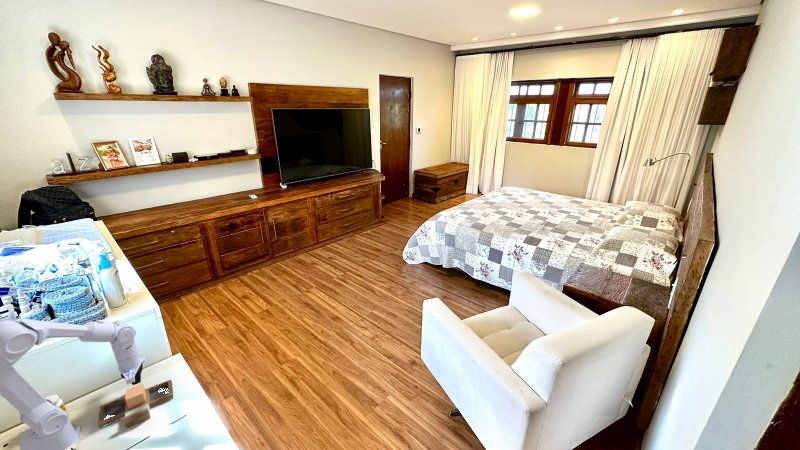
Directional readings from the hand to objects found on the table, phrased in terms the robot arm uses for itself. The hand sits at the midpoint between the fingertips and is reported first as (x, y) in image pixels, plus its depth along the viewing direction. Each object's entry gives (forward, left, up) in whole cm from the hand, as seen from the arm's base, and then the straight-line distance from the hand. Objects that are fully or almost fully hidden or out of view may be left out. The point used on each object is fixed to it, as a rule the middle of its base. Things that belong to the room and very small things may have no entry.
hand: (136, 382), depth 108 cm
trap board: (0, -9, -3) cm, 10 cm away
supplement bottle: (-20, 0, -3) cm, 20 cm away
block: (0, -7, -1) cm, 7 cm away
